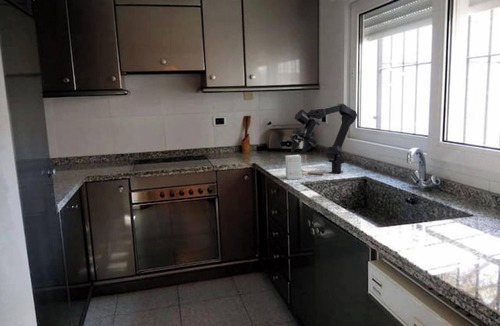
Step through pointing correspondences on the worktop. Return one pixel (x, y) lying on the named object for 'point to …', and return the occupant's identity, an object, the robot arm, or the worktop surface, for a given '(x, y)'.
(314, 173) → the wooden turner
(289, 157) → the small box
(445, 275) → the worktop surface
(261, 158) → the worktop surface
